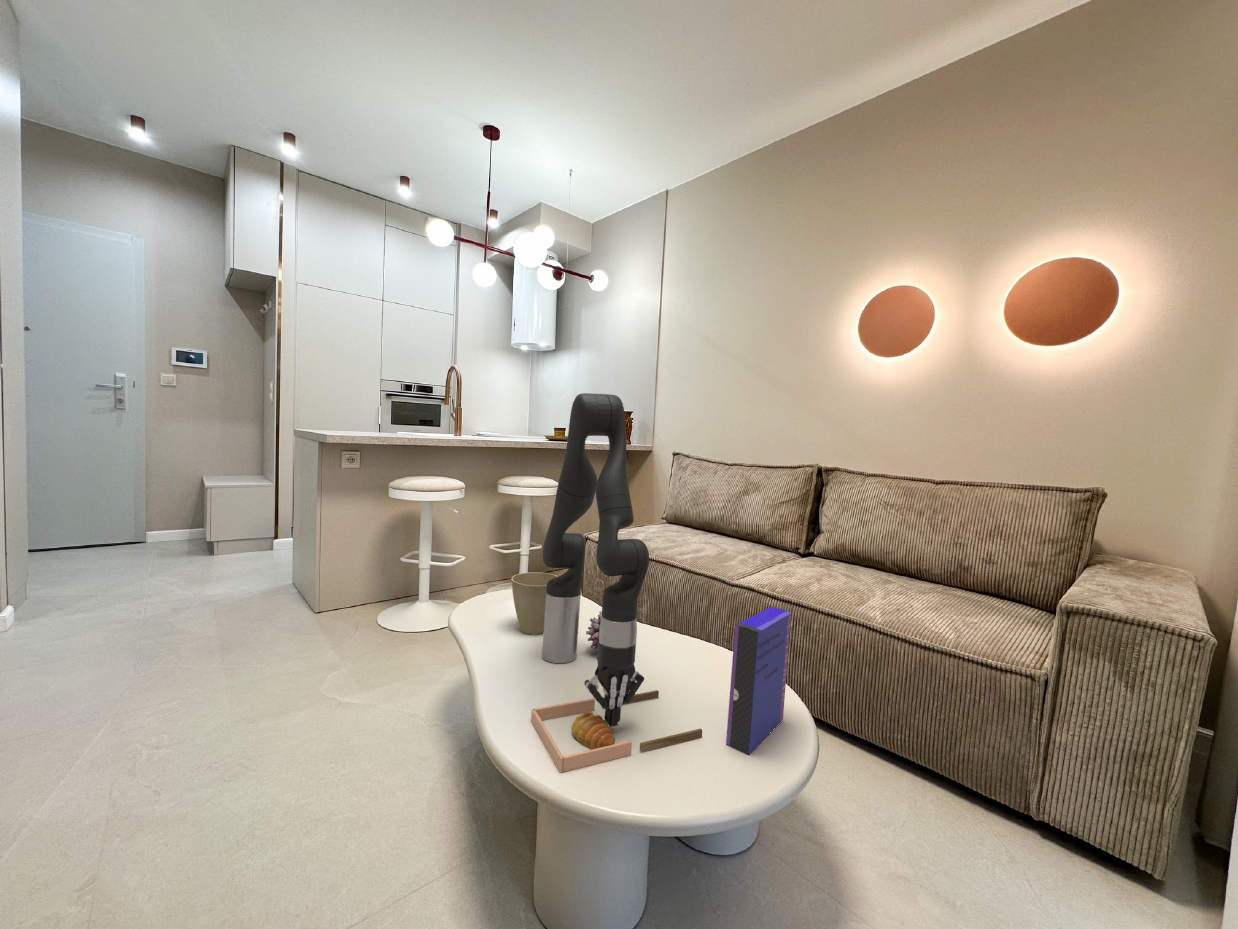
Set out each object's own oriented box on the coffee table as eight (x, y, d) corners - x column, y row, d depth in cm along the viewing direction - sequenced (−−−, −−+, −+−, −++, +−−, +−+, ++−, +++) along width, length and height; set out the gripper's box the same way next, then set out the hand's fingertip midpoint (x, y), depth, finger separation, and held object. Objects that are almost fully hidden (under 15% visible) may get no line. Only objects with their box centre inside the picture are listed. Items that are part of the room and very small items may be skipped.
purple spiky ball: (628, 647, 141) (631, 606, 141) (624, 665, 129) (628, 620, 129) (588, 643, 142) (591, 602, 142) (581, 660, 130) (584, 615, 130)
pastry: (623, 747, 94) (624, 728, 94) (594, 760, 89) (596, 739, 89) (594, 724, 101) (595, 706, 101) (566, 734, 97) (568, 715, 97)
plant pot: (503, 624, 153) (506, 573, 152) (549, 620, 159) (552, 571, 159) (514, 642, 139) (518, 586, 139) (564, 637, 145) (568, 583, 145)
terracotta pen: (530, 721, 100) (531, 709, 100) (593, 709, 106) (594, 698, 106) (560, 772, 85) (561, 759, 85) (630, 755, 91) (631, 742, 91)
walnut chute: (602, 707, 107) (602, 700, 107) (657, 696, 114) (657, 690, 114) (641, 752, 92) (641, 744, 92) (701, 737, 98) (702, 730, 98)
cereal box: (761, 712, 110) (770, 606, 109) (782, 720, 107) (791, 611, 106) (725, 744, 97) (735, 624, 96) (748, 755, 94) (758, 631, 93)
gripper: (637, 628, 105) (631, 709, 105) (579, 635, 98) (574, 721, 99) (655, 641, 98) (649, 727, 98) (595, 650, 92) (589, 741, 92)
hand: (611, 724), depth 99 cm, fingers closed
